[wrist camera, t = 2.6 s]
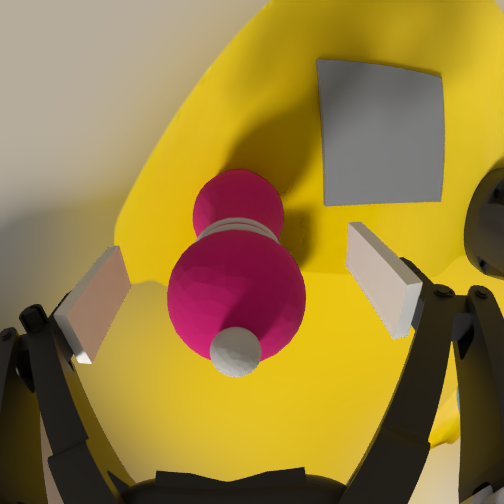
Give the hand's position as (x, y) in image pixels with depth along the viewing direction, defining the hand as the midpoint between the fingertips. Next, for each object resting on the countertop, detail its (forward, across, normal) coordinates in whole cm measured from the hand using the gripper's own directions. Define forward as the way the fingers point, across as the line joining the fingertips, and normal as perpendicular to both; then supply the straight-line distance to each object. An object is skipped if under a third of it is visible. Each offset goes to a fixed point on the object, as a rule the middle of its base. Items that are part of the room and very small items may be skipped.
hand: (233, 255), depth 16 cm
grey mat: (+12, -15, -6) cm, 20 cm away
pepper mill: (+12, 0, 0) cm, 12 cm away
